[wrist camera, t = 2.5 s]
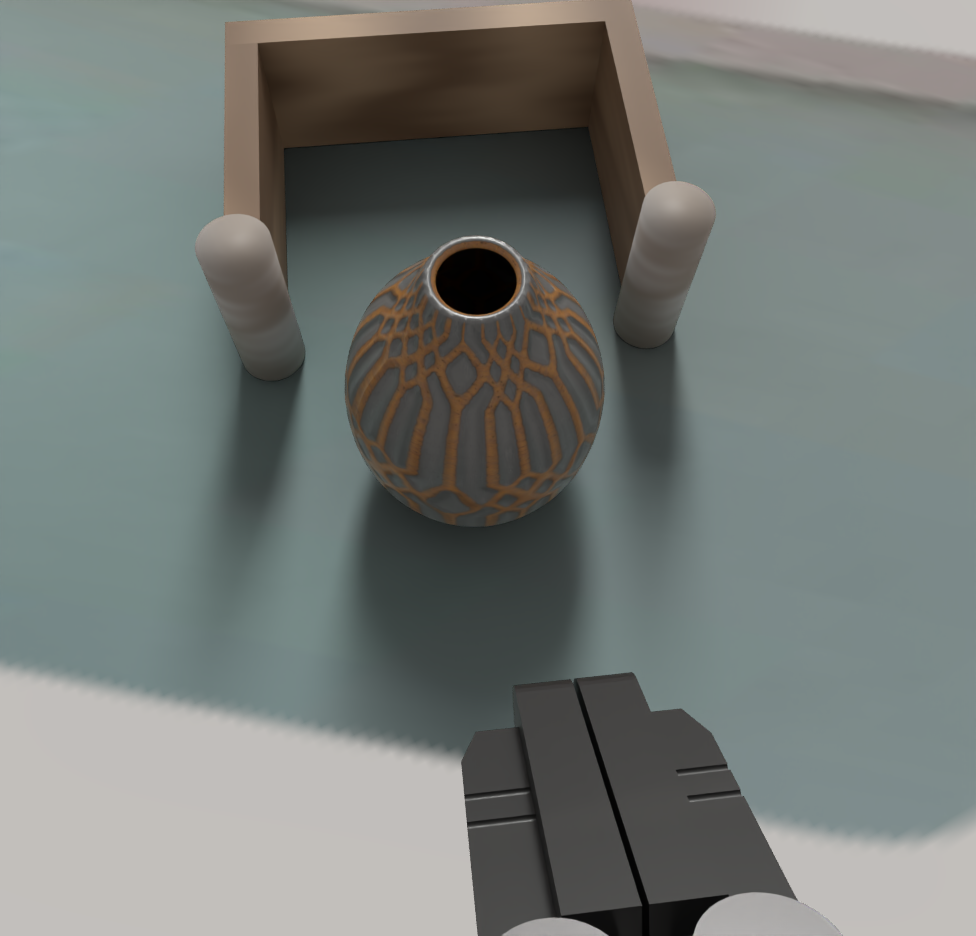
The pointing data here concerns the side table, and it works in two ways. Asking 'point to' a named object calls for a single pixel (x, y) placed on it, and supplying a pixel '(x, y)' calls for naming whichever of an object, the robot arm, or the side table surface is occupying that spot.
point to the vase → (474, 385)
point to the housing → (441, 113)
